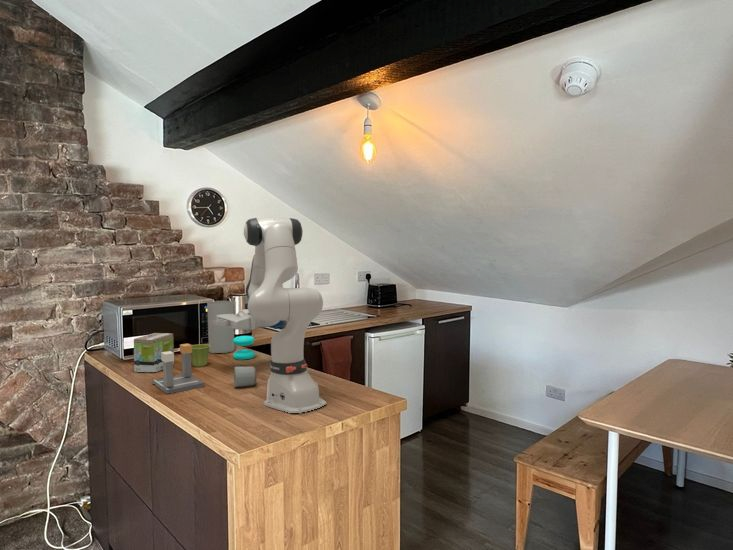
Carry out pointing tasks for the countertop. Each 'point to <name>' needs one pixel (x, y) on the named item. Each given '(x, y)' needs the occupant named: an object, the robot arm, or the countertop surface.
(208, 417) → the countertop surface
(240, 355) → the donuts
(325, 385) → the countertop surface
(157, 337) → the tea box
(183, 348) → the orange fader
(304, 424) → the countertop surface
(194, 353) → the plant pot
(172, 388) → the plate
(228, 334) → the cylinder vase
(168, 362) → the white fader
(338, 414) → the countertop surface
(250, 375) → the ceramic mug
